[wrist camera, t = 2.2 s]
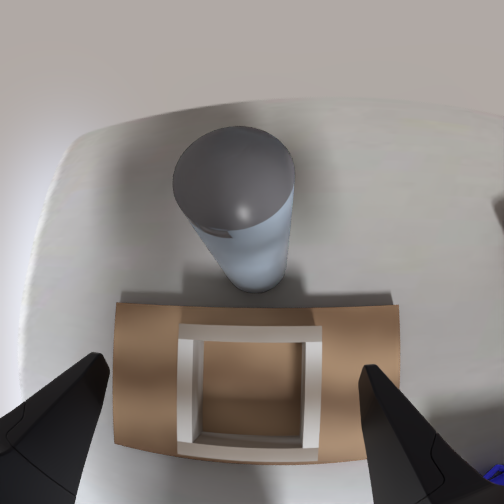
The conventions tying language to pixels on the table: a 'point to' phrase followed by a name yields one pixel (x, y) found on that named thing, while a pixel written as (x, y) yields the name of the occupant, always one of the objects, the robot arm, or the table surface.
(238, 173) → the blue-grey cylinder
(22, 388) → the table surface
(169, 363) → the jig
